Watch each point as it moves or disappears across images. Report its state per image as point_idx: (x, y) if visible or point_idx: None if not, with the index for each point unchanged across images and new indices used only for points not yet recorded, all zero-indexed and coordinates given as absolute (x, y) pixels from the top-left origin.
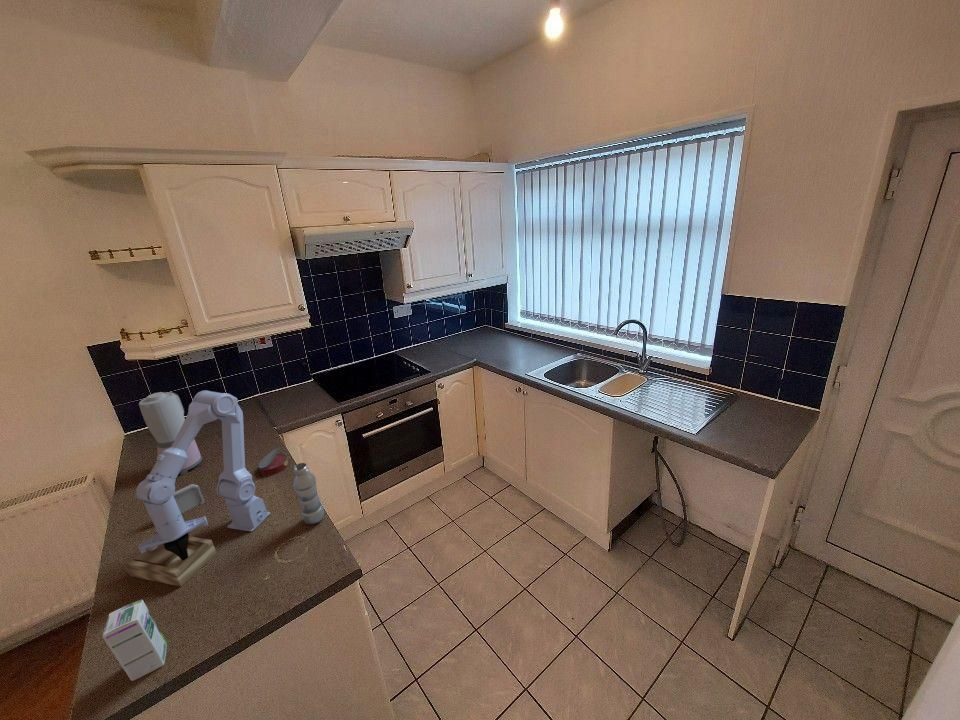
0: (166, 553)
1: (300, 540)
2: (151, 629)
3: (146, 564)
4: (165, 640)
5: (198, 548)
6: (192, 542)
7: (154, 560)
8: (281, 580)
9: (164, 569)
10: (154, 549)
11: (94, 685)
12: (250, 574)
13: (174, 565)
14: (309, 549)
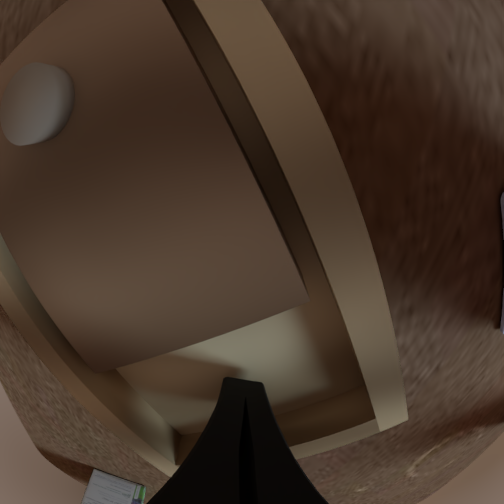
0: (121, 292)
1: (470, 441)
2: None
3: (8, 298)
4: (143, 496)
5: (325, 438)
6: (342, 318)
7: (46, 289)
8: (366, 498)
9: (120, 435)
10: (36, 142)
11: (41, 446)
12: (352, 475)
13: (170, 380)
14: (447, 466)
